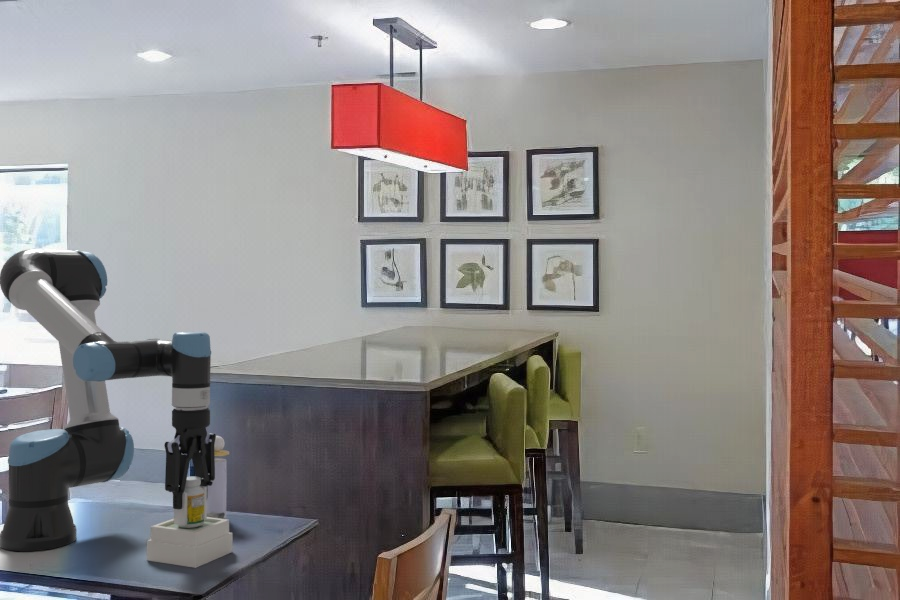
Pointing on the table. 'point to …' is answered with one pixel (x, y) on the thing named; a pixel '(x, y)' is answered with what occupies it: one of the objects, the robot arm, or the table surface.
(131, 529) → the table surface
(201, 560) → the display pedestal
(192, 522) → the supplement bottle
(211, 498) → the perfume bottle
